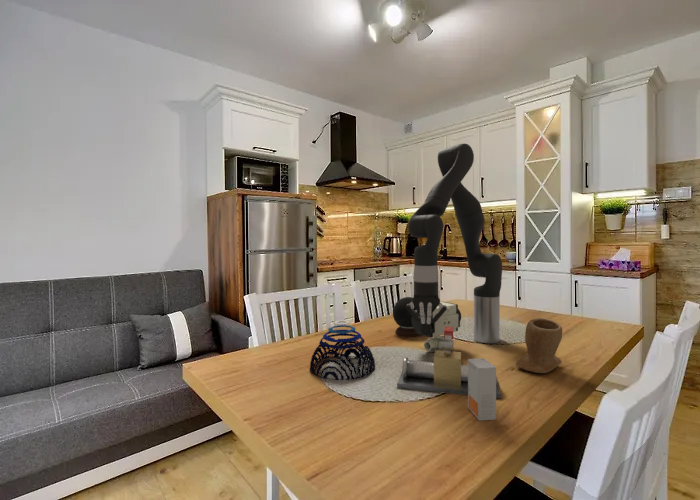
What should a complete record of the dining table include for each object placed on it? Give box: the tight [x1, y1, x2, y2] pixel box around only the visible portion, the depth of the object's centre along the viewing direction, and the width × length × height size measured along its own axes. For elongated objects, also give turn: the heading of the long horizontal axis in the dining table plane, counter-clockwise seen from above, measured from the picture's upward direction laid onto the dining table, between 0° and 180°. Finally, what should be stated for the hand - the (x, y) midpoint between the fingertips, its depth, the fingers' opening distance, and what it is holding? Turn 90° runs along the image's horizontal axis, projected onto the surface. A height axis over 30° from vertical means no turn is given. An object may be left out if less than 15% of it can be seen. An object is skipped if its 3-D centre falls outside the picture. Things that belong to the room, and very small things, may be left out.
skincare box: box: [467, 357, 497, 422], centre depth 83 cm, size 6×4×12 cm
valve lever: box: [442, 327, 455, 351], centre depth 106 cm, size 16×3×2 cm, turn 163°
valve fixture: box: [396, 350, 502, 400], centre depth 100 cm, size 12×26×10 cm, turn 73°
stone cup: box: [514, 317, 563, 374], centre depth 110 cm, size 15×12×15 cm
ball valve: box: [412, 301, 462, 353], centre depth 128 cm, size 18×8×18 cm, turn 124°
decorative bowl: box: [309, 320, 376, 381], centre depth 114 cm, size 20×20×14 cm
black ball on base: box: [392, 296, 422, 338], centre depth 151 cm, size 13×13×15 cm
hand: (426, 335), depth 113 cm, fingers closed
